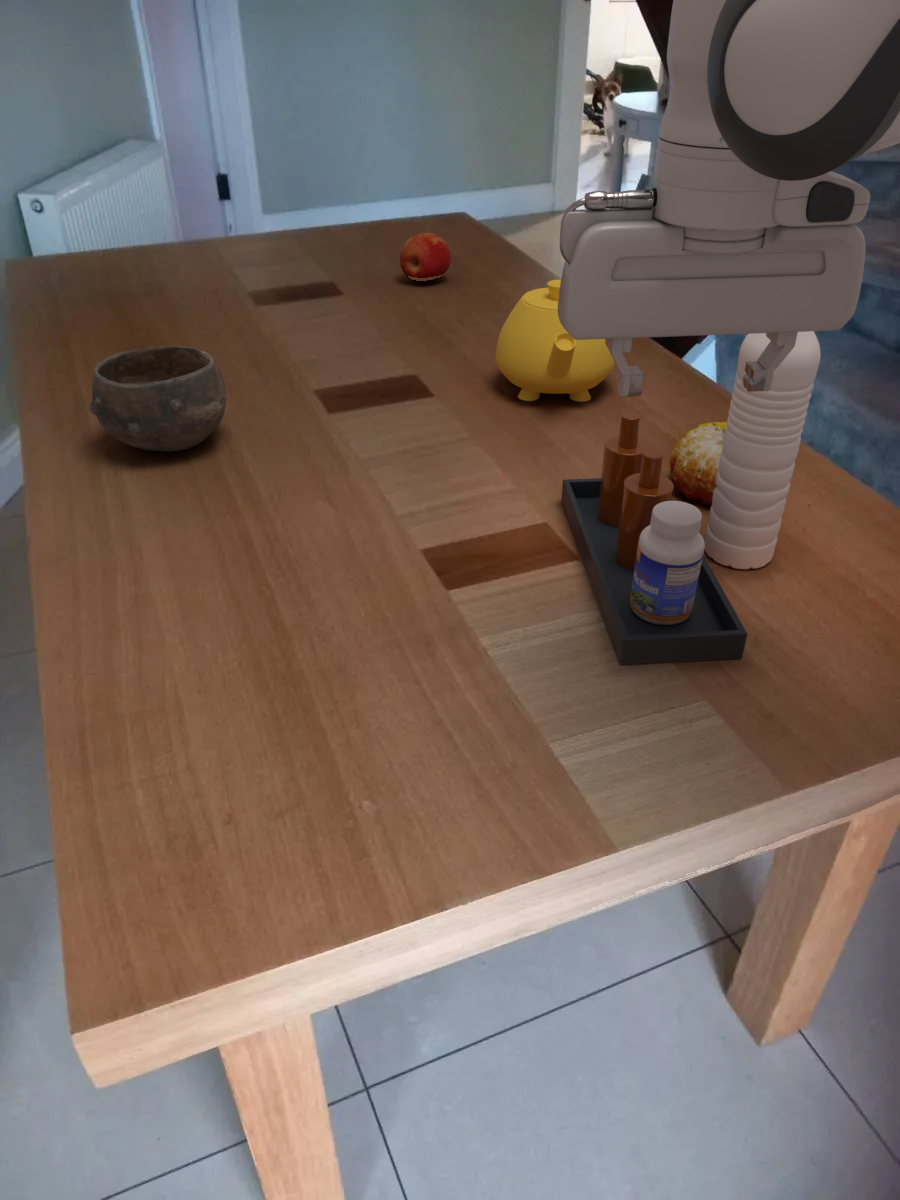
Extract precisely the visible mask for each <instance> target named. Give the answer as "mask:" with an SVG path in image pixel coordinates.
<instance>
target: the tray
mask: <svg viewBox="0 0 900 1200" xmlns="http://www.w3.org/2000/svg"><path fill="white" fill-rule="evenodd" d="M600 484H601V477H596V478H595V477H594V478H573V479H572V478H571V479H562V486H561V487H562V488H561V499H560V500H561V505H562V507H563V510H564V513H565V515H566V518H567V521H568V524H569V527H570V529H571V532H572V536H573V538H574V541H575V544H576V547H577V549H578V552H579V555H580V558H581V560H582V563H583V565H584V568H585V572H586V574H587V577H588V579H589V583H590V585H591V588H592V590H593V595H594V597H595V599H596V602H597V605H598V608H599V611H600V613H601V616H602V619H603V621H604V624H605V627H606V630H607V633H608V637H609V638H610V641H611V645H612V646H613V649H614V653H615V655H616V658H617V660H618V663H619V664H618V665H620V666H624V665H644V664H661V663H664V664H665V663H680V662H681V663H682V662H683V663H684V662H701V661H702V662H703V661H717V660H718V661H720V660H721V661H722V660H738V659H739V660H740V659H743V654H744V650H745V648H746V647H745V646H746V642H747V638H748V632H747V629H745V627H744V625H743V623H742V621H741V620H740V617H739V616H738V613H737V612H736V611H735V609H734V606H733V605H732V603H731V602H730V599H729V598H728V596H727V594H726V593H725V591H724V590H723V587H722V586H721V584H720V582H719V581H718V578H717V576H716V575H715V573H714V571H713V569H712V568H711V566H710V564H709V562H708V561H707V558H706V557H705V555H704V554H703V559H702V564H701V569H700V573H699V578H698V583H697V588H696V593H695V598H694V603H693V608H692V612H691V614H690V616H689V617H688V618H687V619H686V620H685V621H683V622H681V623H678V624H674V625H658V624H653V623H650V622H647V621H645V620H643V619H641V618H639V617H638V616H637V615H636V614H635V613H634V612H633V611H632V609H631V606H630V595H631V589H632V583H633V576H634V571H632V570H629V569H626V568H624V567H622V566H621V565H619V564H618V563H617V561H616V559H615V552H616V543H617V535H618V527H615V526H610V525H607V524H605V523H603V522H602V521H601V520H600V519H599V518H598V515H597V513H598V503H599V494H600ZM672 501H674V500H673V499H672Z"/></svg>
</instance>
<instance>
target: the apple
mask: <svg viewBox="0 0 900 1200" xmlns="http://www.w3.org/2000/svg"><path fill="white" fill-rule="evenodd" d="M451 260H452V254H451V250H450V248H449V246H448V244H447V243H446V241H445V240H444V238H442V237H440V236H439V235H438V234H435V233H433V232H421V233H417V234H414V235H412V236H411V237H409V238H408V240H407V241H406V242H404V244H403V246H402V247H401V250H400V255H399V265H400V268H401V270H402V272H403V274H404V275H405V274H406V275H407V276H411V277H417V278H428V277H434V276H439V275H442V274H444V273H445V272H446V273H447V272H448V270H449V268H450V265H451V263H452V261H451ZM446 273H445V274H446ZM445 274H444V275H445ZM406 275H405V276H406ZM407 276H406V277H407ZM409 280H410V281H413V282H415V283H419V284H425V283H428V282H432V281H437V280H439V278H437V279H434V280H427V281H416V280H411V279H409Z"/></svg>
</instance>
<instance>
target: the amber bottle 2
mask: <svg viewBox="0 0 900 1200" xmlns="http://www.w3.org/2000/svg"><path fill="white" fill-rule="evenodd" d="M663 461H664V452H662V451H661V450H659V449H653V448H651V449H648V450H645V451H644V452H643V454H642V461H641V469H640V473H637V474H633V475H630V476H628V477H627V478H626V479H625V481H624V486H623V494H622V502H621V510H620V519H619V527H618V535H617V543H616V552H615V559H616V561H617V563H618V564H619V565H621V566H622V567H624V568H626V569H629V570H632V571H634V569H635V562H636V556H637V549H638V542H639V537H640V534H641V532H642V531H643V530H644V529H645V528H646V527H647V526H649V525H650V522H651V516H652V511H653V508H654V507H655V506H656V505H657V504H659V503H661V502H665V501H672V500H673V495H674V489H675V484H674V482H673V481H672V480H671V479H669V478H667V476H664V475H661V474H662V468H663Z"/></svg>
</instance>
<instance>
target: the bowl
mask: <svg viewBox="0 0 900 1200" xmlns="http://www.w3.org/2000/svg"><path fill="white" fill-rule="evenodd" d="M92 378H93V379H92V383H91V384H92V385H91V397H92V399H91V401H90V403H89V405H88V410H89V412H91V413H92V414H93V415H94V416H96V419H97V421H98V423H99V424H100V426H101V427H102V428H103V429H104V430H105V431H106V432H107V433H109V434H110V435H111V436H113V437H114V438H115V439H117V440H118V441H120V442H121V443H123V444H126V445H128V446H130V447H134V448H137V449H141V450H145V451H149V452H179V451H185V450H188V449H191V448H193V447H196V446H197V445H199V444H200V443H202V442H204V441H205V440H206V439H207V438H208V437H209V436H210V435H211V434H212V433H213V432H214V431H215V430H216V429H217V427H219V425H220V423H221V422H222V420H223V417H224V415H225V411H226V407H227V406H226V405H227V403H226V402H227V386H226V385H227V384H226V381H225V379H224V377H223V375H222V372H221V370H220V368H219V366H218V364H217V363H216V361H215V360H214V358H213V357H212V356H211V355H210V354H209V353H208V352H206V351H204V350H202V349H198V348H195V347H190V346H182V345H163V346H161V345H160V346H159V345H158V346H149V347H144V348H138V349H137V348H136V349H132V350H128V351H122V352H121V351H120V352H117V353H114V354H111V355H109V356H107V357H105V358H103V359H102V360H100V361H99V362H98V363H97V364H96V366H95V368H94V372H93V376H92Z"/></svg>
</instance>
